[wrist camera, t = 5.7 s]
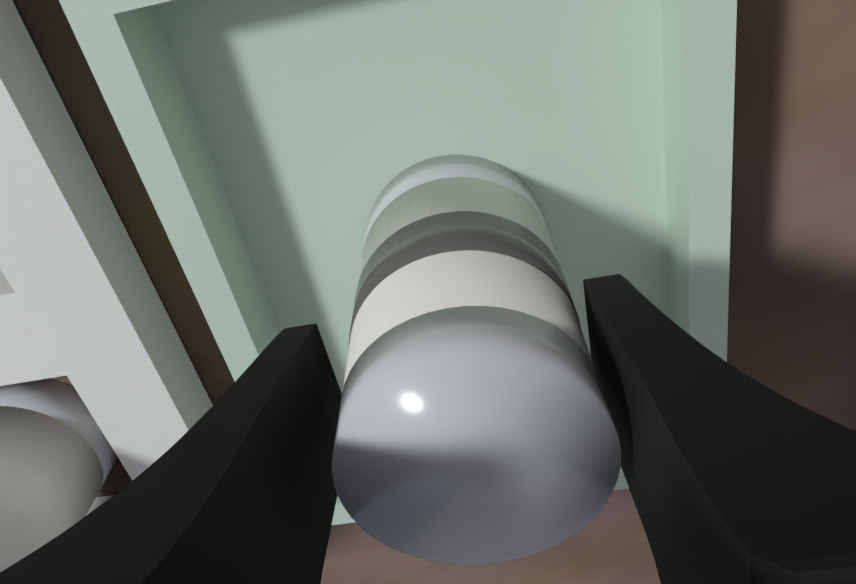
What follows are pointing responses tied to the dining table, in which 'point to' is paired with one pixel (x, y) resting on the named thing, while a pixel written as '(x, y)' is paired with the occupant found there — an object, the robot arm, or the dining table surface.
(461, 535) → the cylinder
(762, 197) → the dining table surface
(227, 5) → the parts tray
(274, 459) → the robot arm
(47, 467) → the cylinder
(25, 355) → the fuse holder
